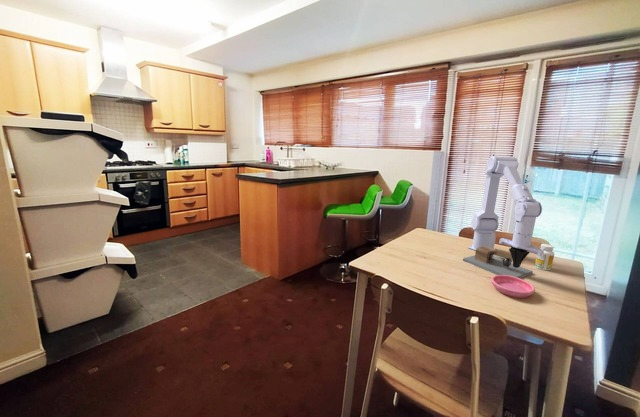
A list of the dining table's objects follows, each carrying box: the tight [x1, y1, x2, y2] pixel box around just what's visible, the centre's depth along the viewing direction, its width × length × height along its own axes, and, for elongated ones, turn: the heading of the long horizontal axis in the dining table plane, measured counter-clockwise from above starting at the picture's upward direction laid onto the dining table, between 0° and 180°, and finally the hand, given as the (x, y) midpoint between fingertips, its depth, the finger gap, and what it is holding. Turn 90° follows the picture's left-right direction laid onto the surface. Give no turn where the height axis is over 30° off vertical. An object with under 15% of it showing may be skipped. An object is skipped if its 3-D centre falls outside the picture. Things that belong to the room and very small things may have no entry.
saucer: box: [490, 274, 536, 299], centre depth 98 cm, size 12×12×3 cm
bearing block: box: [474, 246, 497, 263], centre depth 121 cm, size 6×5×5 cm
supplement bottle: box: [534, 243, 555, 271], centre depth 116 cm, size 5×5×10 cm
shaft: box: [489, 253, 513, 267], centre depth 117 cm, size 4×10×4 cm, turn 29°
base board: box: [462, 254, 534, 279], centre depth 117 cm, size 14×20×1 cm
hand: (516, 266), depth 110 cm, fingers closed
